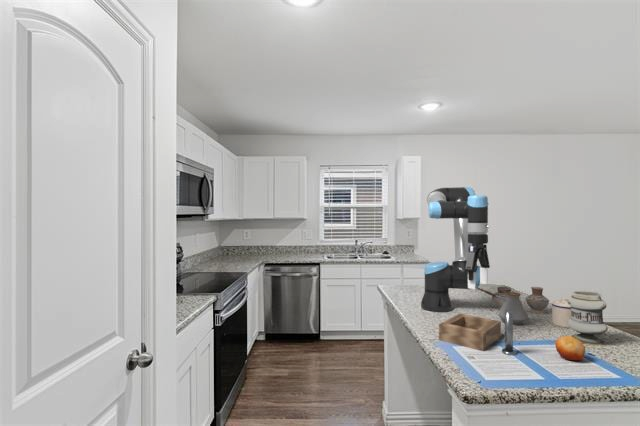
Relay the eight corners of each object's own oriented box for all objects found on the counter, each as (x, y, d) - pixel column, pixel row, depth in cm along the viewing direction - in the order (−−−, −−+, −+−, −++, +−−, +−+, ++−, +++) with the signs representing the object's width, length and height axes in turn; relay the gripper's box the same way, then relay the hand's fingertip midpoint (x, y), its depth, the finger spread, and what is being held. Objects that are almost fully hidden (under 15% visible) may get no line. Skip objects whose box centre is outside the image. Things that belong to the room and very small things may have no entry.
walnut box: (439, 340, 132) (439, 324, 132) (459, 327, 147) (459, 313, 147) (483, 351, 121) (483, 333, 122) (500, 336, 136) (500, 321, 136)
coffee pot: (521, 319, 159) (521, 286, 159) (532, 327, 148) (532, 291, 148) (472, 316, 163) (472, 284, 163) (478, 324, 152) (478, 289, 152)
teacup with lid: (580, 329, 145) (579, 301, 145) (554, 326, 148) (553, 299, 148) (572, 321, 156) (572, 295, 156) (548, 319, 159) (548, 293, 159)
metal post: (500, 352, 120) (499, 312, 120) (504, 349, 123) (503, 309, 123) (514, 356, 117) (514, 314, 117) (517, 352, 120) (517, 311, 120)
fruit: (577, 349, 119) (582, 332, 116) (585, 369, 113) (590, 352, 109) (550, 346, 122) (553, 330, 118) (556, 365, 116) (560, 349, 112)
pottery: (551, 316, 165) (551, 290, 165) (493, 310, 174) (492, 286, 174) (546, 310, 175) (546, 286, 175) (491, 305, 184) (490, 282, 184)
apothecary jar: (560, 334, 138) (560, 289, 138) (591, 335, 138) (591, 289, 138) (582, 346, 126) (581, 296, 126) (616, 346, 126) (615, 296, 126)
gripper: (476, 235, 129) (476, 292, 129) (497, 232, 148) (497, 282, 148) (456, 234, 135) (456, 289, 135) (479, 232, 153) (479, 280, 153)
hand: (477, 286), depth 141 cm, fingers open, 13 cm apart
